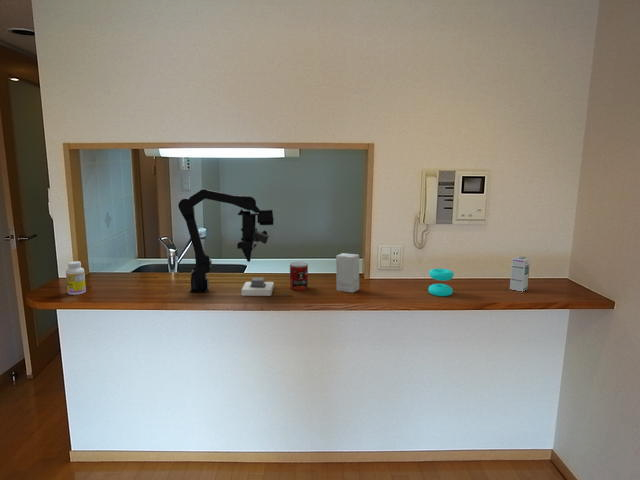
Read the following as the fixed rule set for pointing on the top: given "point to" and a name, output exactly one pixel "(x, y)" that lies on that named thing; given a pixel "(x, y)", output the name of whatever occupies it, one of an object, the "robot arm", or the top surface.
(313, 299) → the top surface
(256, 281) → the plug
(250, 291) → the socket plate
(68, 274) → the supplement bottle
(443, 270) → the donuts
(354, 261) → the skincare box
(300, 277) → the canned food
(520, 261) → the syrup box
